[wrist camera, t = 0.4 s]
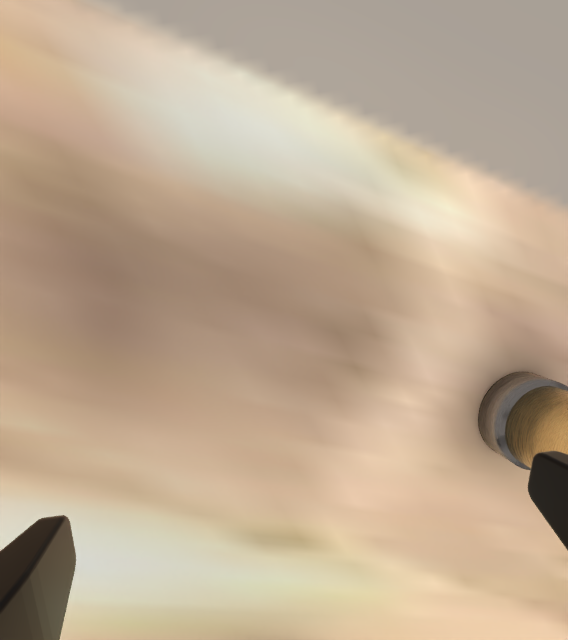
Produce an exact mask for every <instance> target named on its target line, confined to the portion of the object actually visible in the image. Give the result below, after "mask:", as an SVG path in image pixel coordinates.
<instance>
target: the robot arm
mask: <svg viewBox="0 0 568 640" xmlns="http://www.w3.org/2000/svg"><path fill="white" fill-rule="evenodd" d="M528 492H529V495H530V497H531V499H532V501H533V502H534V504H535V505H536V506H537V508H538V509H539V511H540V512H541V513H542V515H543V516H544V518H545V519H546V520H547V522H548V523H549V525H550V526H551V527H552V529H553V530H554V532H555V533H556V534H557V536H558V537H559V539H560V540H561V541H562V543H563V544H564V546H565V547H566V548H567V550H568V454H565V453H562V452H559V451H547V452H539V453H537V454H535V456H534V457H533V460H532V465H531V471H530V476H529V482H528ZM75 565H76V554H75V548H74V542H73V537H72V531H71V526H70V521H69V519H68V517H66V516H64V515H61V516H54V517H46V518H41V519H39V520H38V521H36V522H35V523H34V524H33V525H31V526H30V527H29V528H28V529H27V530H25V531H24V532H23V533H22V534H21V535H19V536H18V537H17V538H16V539H15V540H13V541H12V542H11V543H10V544H9V545H7V546H6V547H5V548H4V549H2V550H1V551H0V640H59V639H60V635H61V630H62V626H63V621H64V617H65V612H66V608H67V603H68V599H69V594H70V589H71V585H72V580H73V576H74V571H75Z"/></svg>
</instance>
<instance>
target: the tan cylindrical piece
mask: <svg viewBox="0 0 568 640" xmlns="http://www.w3.org/2000/svg"><path fill="white" fill-rule="evenodd" d="M478 422H479V429H480V433H481V436H482V438H483V440H484V441H485V443H486V444H487V445H488V446H489V447H490V448H491V449H493V450H494V451H496V452H497V453H499V454H500V455H502V456H503V457H505V458H506V459H508V460H509V461H511V462H512V463H514V464H515V465H517V466H519V467H521V468H523V469H527V470H531V465H532V460H533V457H534V456H535V454H537V453H539V452H547V451H559V452H562V453H565V454H568V387H567V386H565V385H563V384H561V383H559V382H556V381H553V380H550V379H547V378H544V377H541V376H538V375H536V374H533V373H528V372H517V373H513V374H510V375H507V376H505V377H503V378H502V379H500V380H499V381H497V382H496V383H495V384H494V385H493V386H492V387H491V388H490V389H489V391H488V392H487V394H486V395H485V397H484V399H483V401H482V404H481V407H480V410H479V419H478Z"/></svg>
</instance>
